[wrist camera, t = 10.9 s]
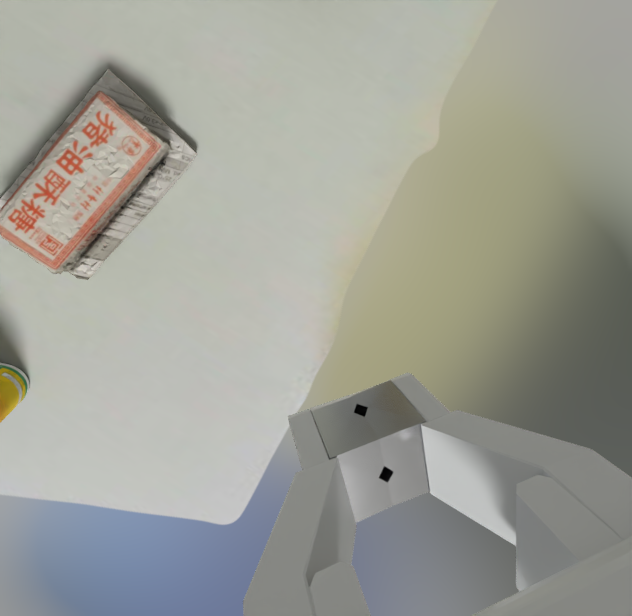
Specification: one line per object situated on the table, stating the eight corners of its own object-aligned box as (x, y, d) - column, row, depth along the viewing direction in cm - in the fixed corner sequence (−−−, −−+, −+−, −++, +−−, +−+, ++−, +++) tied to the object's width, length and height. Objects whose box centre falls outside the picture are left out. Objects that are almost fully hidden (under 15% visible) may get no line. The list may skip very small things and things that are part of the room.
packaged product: (71, 293, 32) (-44, 218, 29) (90, 281, 37) (-7, 214, 33) (196, 150, 31) (93, 51, 27) (200, 155, 35) (112, 71, 32)
